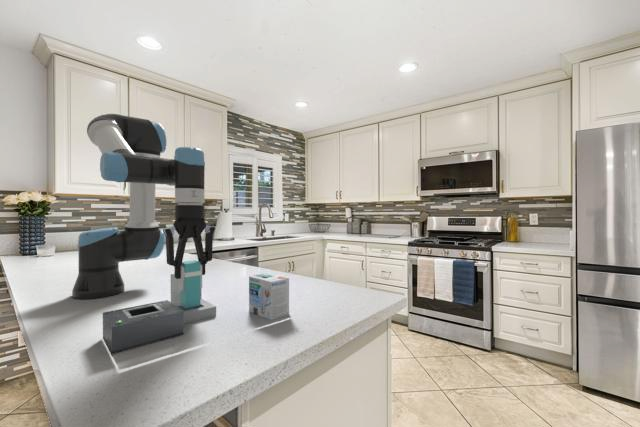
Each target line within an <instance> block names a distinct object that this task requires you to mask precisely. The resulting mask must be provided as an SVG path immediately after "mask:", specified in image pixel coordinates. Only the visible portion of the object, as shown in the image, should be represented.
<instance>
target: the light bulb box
mask: <svg viewBox="0 0 640 427" xmlns="http://www.w3.org/2000/svg"><path fill="white" fill-rule="evenodd" d="M248 312H250V313H252V314H255V315H257V316H259V317H261V318H265V319H266V320H271V321H272V320H275V319H279V318H282V317H284V316H287V315H290V277H287V276H281V275H278V274H274V273H268V272H265V273H261V274H254V275H249V276H248Z"/></svg>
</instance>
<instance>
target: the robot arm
mask: <svg viewBox="0 0 640 427" xmlns="http://www.w3.org/2000/svg"><path fill="white" fill-rule="evenodd" d="M86 133H87V137H88V138H89V141H90V142H91V143H92V144H93V145H94V146H95V147H98V149H99V151H100V153H101V156H100V161H99V162H100V163H99V170H100V171H99V173H100V177H101V178H102V179H103V180H104V181H107V182H116V183H129V218H128V219H129V221H128V222H127V223H126V224H125V225H124V229H123V230H119V228H118V227H117V226H114V227H102V228H97V229H91V230H85V231H82V232H81V233H79V235H78V239H77V240H78V242H77V247H78V251H77V252H78V273H77V277H76V280H75V283H74V285H73V288H72V293H71V294H72V296H71V297H72V298H74V299H78V300H83V299H84V300H88V299H89V300H91V299H99V298H106V297H110V296H115V295H118V294H120V293H123V292H124V291H125V281H124V279H123V277H122V275H121V273H120V270H119V269H120V268H119V267H120V266H119V263H123V262H132V261H140V260H141V261H142V260H145V261H147V260H150V259H151V260H152V259H156V258H158V257H160V255H161V254H162V252H163V250H164V247H165V252H166V264H167V265H169V266H172V267H174V273H175V278H176V279H178V289H179V290H180V291H185V279H184V267H183V266H181V265H182V262H183V260H184V256H185V255H184V254H185V250H186V247H187V246H186V245H187V242H188V239H192V240H193V243H194V247H195V248H194V249H195V252H196V256H197V261H198V262H200V271H201V275H200V288H201V289H202V288H203V276H205V275H206V264H208V262H212V261H213V247H214V246H213V242H214V240H213V239H214V232H215V230H216V227H215V226H210V225H208V224H207V223H206V221H205V218H206V216H205V215H206V211H205V205H203V204H204V203H205V168H206V167H205V166H206V161H205V153H204V151H203V150H202V149H200V148H196V147H189V146H188V147H187V146H180V147H176V149H175V150H174V156H173V159H172V158H165V157H163V158H162V157H161V154H162V153H165V151H166V147H167V136H166V131H165V129H164V127H163V125H162V124H161V123H160V122H157V121H154V120H150V119H146V118H145V119H144V118H140V117H139V118H138V117H133V116H129V115H128V116H127V115H122V114H117V113H106V114H101V115H98V116H96V117H94V118H93V119H92V120H90V122H89V123H88V124H87V127H86ZM156 185H167V186H174V202H175V204H177V205H175V206H174V223H173V225H172V226H169V227H167V228H166V227H164V228H163V229H161V228H160V225H159V224H158V223H157V222H156ZM203 231H204V232H205V236H204V237H205V238H204V246H203V241H202V233H203ZM175 232H176V233H177V234H178V235H179V236H178V240H177V241H178V243H177V247H176V251H175V241H174V234H175ZM175 252H176V253H175Z"/></svg>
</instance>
